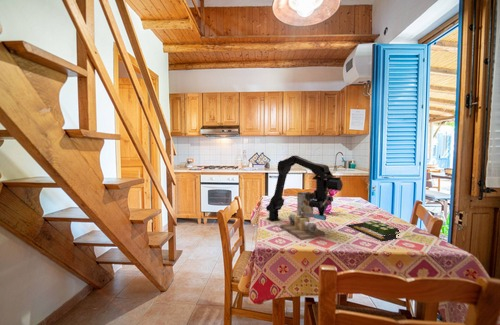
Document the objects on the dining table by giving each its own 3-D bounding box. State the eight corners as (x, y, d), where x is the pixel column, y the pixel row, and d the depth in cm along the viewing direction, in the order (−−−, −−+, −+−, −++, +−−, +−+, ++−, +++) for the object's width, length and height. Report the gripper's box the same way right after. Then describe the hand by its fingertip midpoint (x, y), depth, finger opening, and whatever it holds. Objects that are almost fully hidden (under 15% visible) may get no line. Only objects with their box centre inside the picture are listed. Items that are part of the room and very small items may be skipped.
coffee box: (308, 214, 161) (309, 191, 160) (313, 216, 155) (314, 193, 154) (296, 215, 159) (297, 192, 158) (301, 217, 153) (301, 194, 152)
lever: (298, 215, 128) (298, 211, 128) (300, 213, 130) (300, 210, 130) (324, 220, 119) (324, 216, 119) (326, 218, 121) (326, 215, 121)
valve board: (279, 227, 134) (280, 211, 134) (301, 223, 141) (302, 208, 140) (301, 240, 116) (301, 222, 116) (325, 235, 123) (325, 218, 122)
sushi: (345, 226, 138) (345, 220, 138) (375, 222, 147) (376, 216, 147) (382, 243, 115) (382, 235, 115) (415, 236, 124) (416, 229, 124)
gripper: (314, 184, 135) (314, 210, 136) (299, 189, 120) (299, 218, 122) (333, 186, 127) (333, 213, 129) (320, 192, 113) (319, 222, 114)
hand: (321, 216), depth 124 cm, fingers closed
